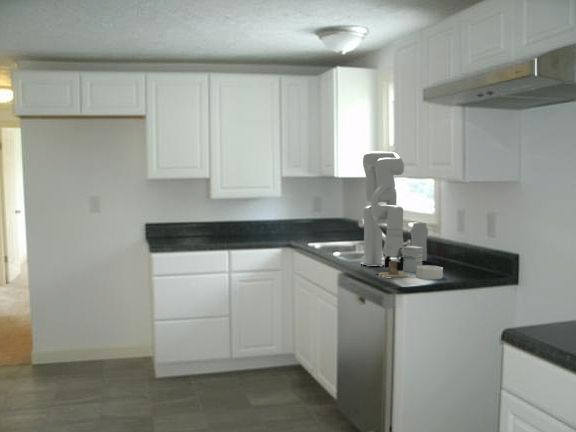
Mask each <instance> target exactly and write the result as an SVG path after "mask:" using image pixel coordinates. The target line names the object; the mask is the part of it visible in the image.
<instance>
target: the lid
mask: <svg viewBox="0 0 576 432" xmlns="http://www.w3.org/2000/svg"><path fill="white" fill-rule="evenodd" d="M397 262H398V260H391V261H389V267H388V271H381V272H378V274H379V275H380V276H384V277H391V278H400V279H407V278H406V277H408V276H409V274H408V273H406V272H402V271H397ZM380 276H379V277H380ZM384 277H383V278H384Z"/></svg>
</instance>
